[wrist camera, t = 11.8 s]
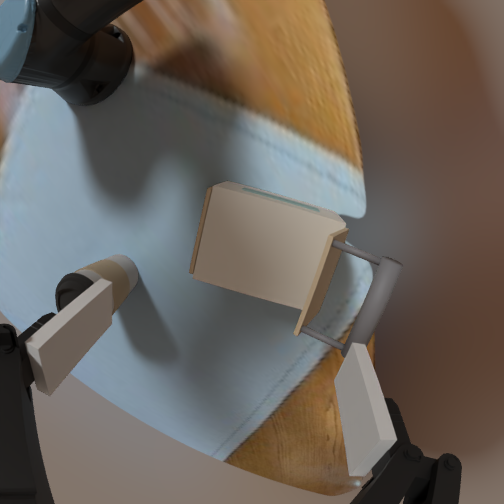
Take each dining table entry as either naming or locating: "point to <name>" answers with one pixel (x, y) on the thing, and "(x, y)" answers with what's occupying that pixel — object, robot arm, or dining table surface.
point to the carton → (261, 243)
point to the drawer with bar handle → (372, 303)
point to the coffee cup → (109, 269)
